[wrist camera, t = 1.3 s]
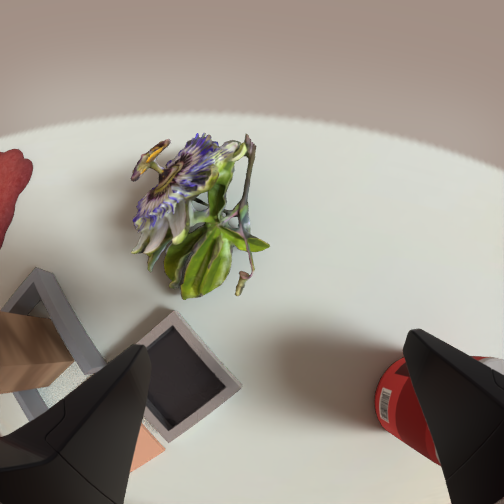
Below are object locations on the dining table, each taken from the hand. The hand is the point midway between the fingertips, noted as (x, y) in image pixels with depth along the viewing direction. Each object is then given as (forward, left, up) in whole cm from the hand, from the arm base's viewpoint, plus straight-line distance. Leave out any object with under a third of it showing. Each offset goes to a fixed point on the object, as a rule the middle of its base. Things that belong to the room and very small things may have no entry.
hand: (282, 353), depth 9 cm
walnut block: (-3, +21, -15) cm, 26 cm away
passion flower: (+10, +5, -15) cm, 18 cm away
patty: (+14, +37, -15) cm, 42 cm away
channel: (-3, +21, -15) cm, 26 cm away
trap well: (-4, +8, -15) cm, 17 cm away
